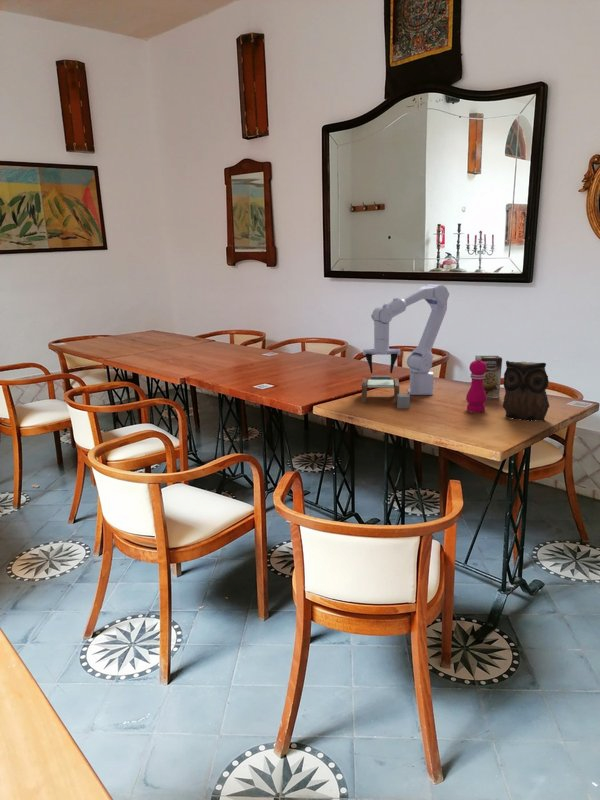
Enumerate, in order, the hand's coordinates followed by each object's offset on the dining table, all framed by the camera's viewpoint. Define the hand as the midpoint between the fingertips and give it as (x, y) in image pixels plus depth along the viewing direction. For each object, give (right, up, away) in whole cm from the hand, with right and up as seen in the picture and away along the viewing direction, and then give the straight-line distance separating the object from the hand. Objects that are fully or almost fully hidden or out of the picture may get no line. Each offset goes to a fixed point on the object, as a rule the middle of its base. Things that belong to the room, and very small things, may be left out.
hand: (381, 372), depth 227 cm
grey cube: (+7, -13, -10) cm, 18 cm away
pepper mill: (+32, -15, -17) cm, 39 cm away
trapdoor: (0, -4, 0) cm, 4 cm away
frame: (0, -10, +1) cm, 10 cm away
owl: (+47, -17, -26) cm, 56 cm away
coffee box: (+42, -10, +1) cm, 43 cm away
